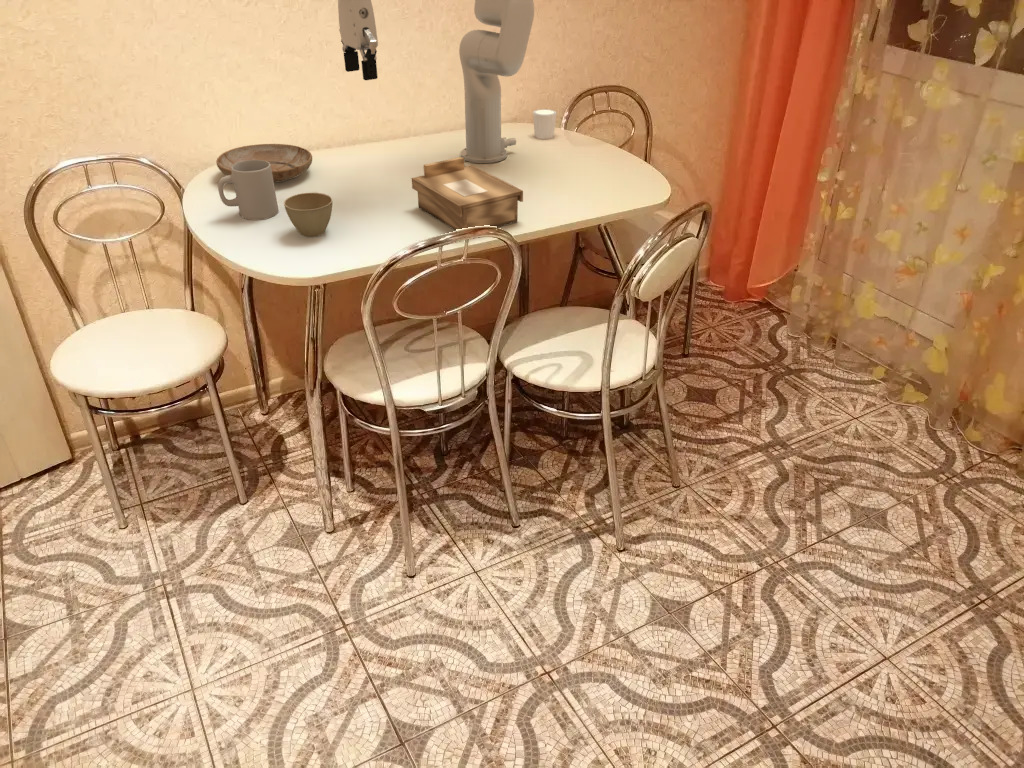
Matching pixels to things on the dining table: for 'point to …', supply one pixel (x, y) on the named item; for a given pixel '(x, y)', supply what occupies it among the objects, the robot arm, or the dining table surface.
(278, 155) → the shallow wooden bowl
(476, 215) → the wooden box base
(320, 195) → the flower pot
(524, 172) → the dining table surface
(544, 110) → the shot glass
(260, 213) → the mug
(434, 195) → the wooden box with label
